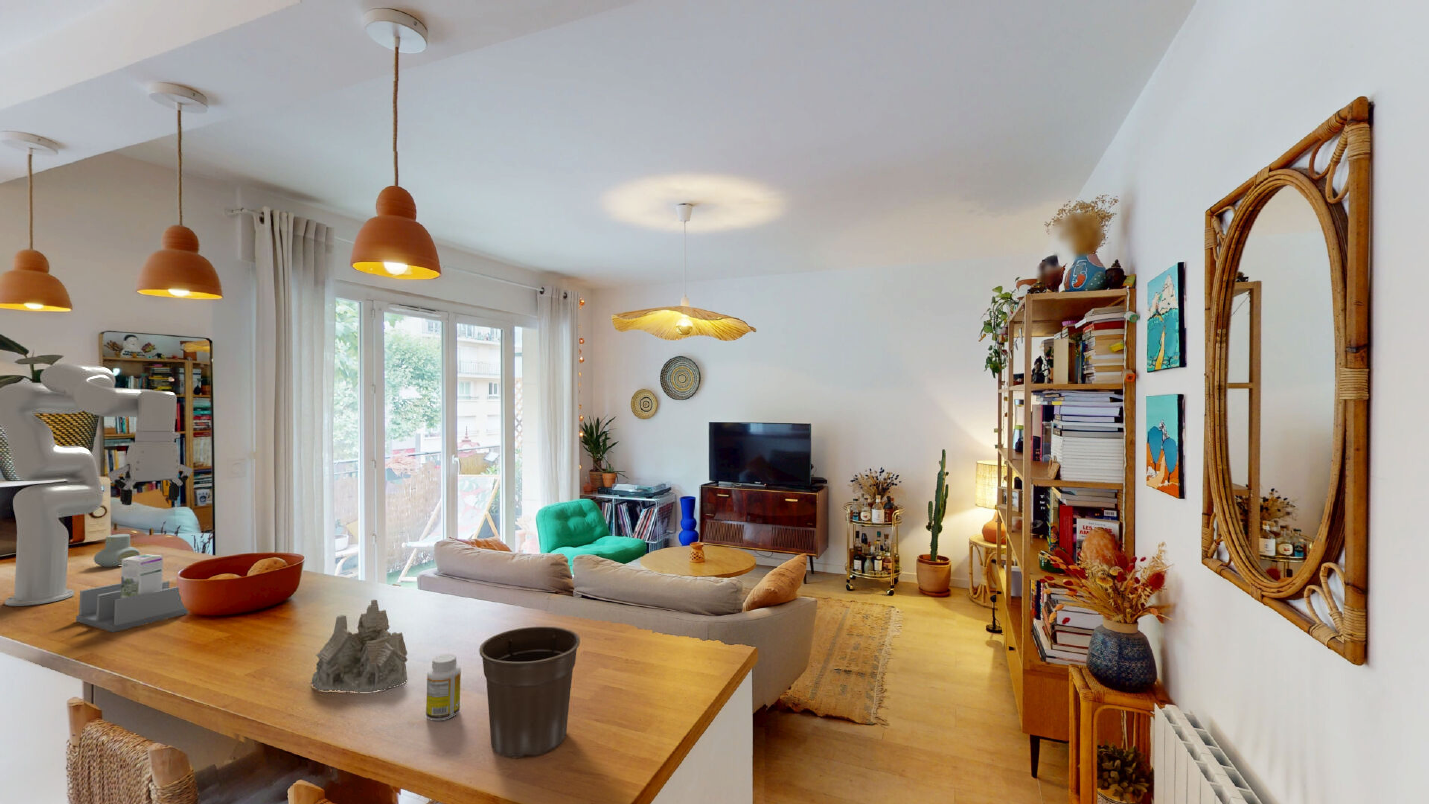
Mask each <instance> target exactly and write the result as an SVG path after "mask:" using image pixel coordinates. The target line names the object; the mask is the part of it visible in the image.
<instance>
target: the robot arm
mask: <svg viewBox="0 0 1429 804" xmlns="http://www.w3.org/2000/svg"><path fill="white" fill-rule="evenodd" d="M39 378H40V382H16V383H11V384H6V385H3V386H2V387H0V427H1V428H2V431H3V432H4V434H5V437H6V442H7V444H8V445H7V446H8V450H9V454H10V458H11V462H12V466H13V467H12V468H13V471H14V473H15V475H16V477H17V478H18V479H20V480H21V481H24V482H25V481H26V482H42V481H58V480H65V481H66V482H53V483H44V484H43V483H42V484H36V485H35V484H34V485H31V486H27V487H24V488H22V489H21V490H19V491H18V492H17V493H16V494H15V495H14V496H13V500H12V507H13V512H14V516H15V521H16V532H17V533H16V554H15V555H16V556H15V557H16V558H15V573H14V574H15V575H14V576H15V577H14V595H12V596H9V597H8V598H6V599H5V600H4V601H5V602H4V604H5V605H6V606H9V607H25V606H26V607H27V606H35V605H43V604H48V603H53V602H59V601H62V600H66V599H68V598H71V597H73V596H74V595H75V591H74V590H73V589H72V588H67V576H68V575H67V574H68V561H69V560H68V557H69V554H68V553H69V531H68V529H67V527H66V526H65V525H64V524H63V523H62V522H61V521H60V519H59V518H63V517H69V516H70V517H72V516H78V515H86V514H91V513H94V512H95V511H97V510H99V509H100V508H101V506H102V504H103V500H104V493H103V486H102V483H101V478H100V474H99V470H98V466H97V462H96V459H95V456H94V455H93V453H92V452H91V451H90V450H89V449H88V448H86V447H84V446H79V445H57V443H56V441H55V438H54V433H53V430H52V429H51V427H50V426H49V425H48V424H47V423H46V422H44V421H43V420H42V419H41V418H39V417H37V416H36V415H35V414H64V415H65V414H69V415H71V414H77V413H82V412H86V413H89V414H90V415H95V416H97V417H107V418H120V417H121V418H124V417H125V418H126V417H127V418H136V421H135V422H136V423H135V434H134V435H135V436H134V437H135V438H134V442H130V443H129V445H128V449H127V452H126V455H125V460H124V465H123V466H121V467H119V468H117V469H113V470H112V471H109V472H108V473H107V476H108V477H109V479H110V480H111V482H112V484H113V485H115V486H116V487H118V489H120V494H119V495H120V496H119V501H120V502H121V505H123V506H124V505H125V506H131V505H132V503H133V502H132V500H133V489H131V488H132V487H133V486H135V484H136V483H140V482H155V481H157V482H158V481H168V482H169V483H171V484H170V485H169V486H168V496H167V499H168V501H172V502H178V499H179V497H180V489H181V486H182V485H184V484H183V483H185V482H186V481H187V480H188V479H189V477H190V476H191V475H192V472H193V471H194V470H193V468H191V467H189V466H186V465H184V464H181V463H180V458H179V457H180V455H179V449H178V445H177V442H175V440H176V439H180V438H181V434H180V433H179V432H176V431H175V425H176V415H177V414H176V413H177V412H176V411H177V402H178V401H177V399H178V397H177V395H176V394H175V392H171V391H166V390H165V391H163V390H154V389H144V388H143V389H142V388H129V387H128V388H127V387H125V388H123V387H115V385H116V377H115V375H114V373H113V372H112V370H110V369H109V368H107V367H104V366H101V365H91V364H80V363H79V364H78V363H56V364H53V365H49V366H47V367H45V368H44V370H42V371H41V373H40V376H39ZM180 471H182V474H181V475H179V473H180ZM122 474H123V475H122ZM120 475H122V476H123V479H124V480H121V478H120V477H119V476H120ZM178 476H179V477H178Z"/></svg>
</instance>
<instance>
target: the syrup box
mask: <svg viewBox="0 0 1429 804" xmlns="http://www.w3.org/2000/svg"><path fill="white" fill-rule="evenodd" d="M163 568H164V556H163V555H159V554H158V555H157V554H147V553H145V554H140V555H137V556H132V557H128V558H125V559H122V566H121V572H120V573H121V575H120V576H121V577H120V579H121V580H120V583H121V598H125V597H130V596H134V595H139V594H144V593H149V592H153V591H158V590H162V582H163V572H164V571H163Z"/></svg>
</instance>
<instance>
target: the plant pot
mask: <svg viewBox="0 0 1429 804" xmlns="http://www.w3.org/2000/svg"><path fill="white" fill-rule="evenodd" d="M580 643H581V638H580V635H578V634H577V633H576V632H575V631H573V630H570V629H565V628H564V627H563V628H562V627H559V626H529V627H522V628H515V629H510V630H506V631H503V632H500V633H498V634H495V635H492V636H491V637H489V638H487V639H486V640H484V642H482V643H481V644H480V646H479V649H478V651H479V656H480V657H481V658H482V666H483V667H482V668H483V674H484V675H483V676H484V677H485V681H486V691H487V693H486V694H487V704H488V718H489V719H488V720H489V731H490V732H489V733H490V735H489V736H490V746H491V748H492V750H493V749H494V750H493V751H494V752H495V751H496V752H495V753H497V754H498V753H499V755H500V756H503V755H504V757H507V758H513V757H516V759H517V757H521V758H523V757H524V756H526V755H531V756H532V757H536V756H541V755H542V754H545V753H549V752H550V751H551V750H554V749H555V748H557V747H558V746H559V745H561V744H562V742H563V741H564V740H565V739H566V736H567V731H568V718H569V710H570V709H569V708H570V699H571V689H572V680H573V670H574V667H575V665H576V661H577V660H576V659H577V649H578V648H579V646H580Z"/></svg>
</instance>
